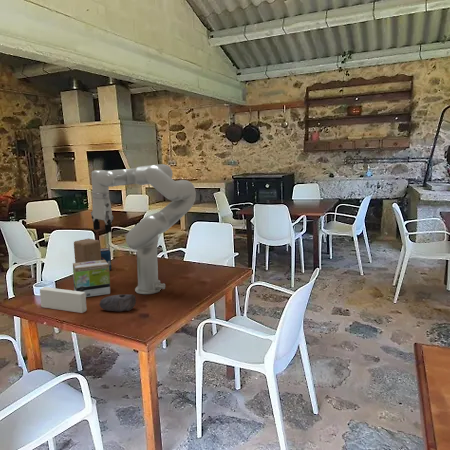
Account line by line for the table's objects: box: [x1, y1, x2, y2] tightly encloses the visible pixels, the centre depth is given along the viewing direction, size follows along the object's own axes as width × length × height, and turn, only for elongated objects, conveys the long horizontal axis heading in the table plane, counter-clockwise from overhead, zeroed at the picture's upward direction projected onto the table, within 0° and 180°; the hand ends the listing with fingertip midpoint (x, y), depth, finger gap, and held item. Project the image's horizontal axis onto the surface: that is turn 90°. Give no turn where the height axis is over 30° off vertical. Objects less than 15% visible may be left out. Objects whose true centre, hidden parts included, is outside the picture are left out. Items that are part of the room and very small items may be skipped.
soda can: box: [100, 247, 112, 271], centre depth 223 cm, size 7×7×12 cm
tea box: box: [72, 260, 111, 298], centre depth 186 cm, size 15×10×15 cm
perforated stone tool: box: [99, 293, 137, 312], centre depth 166 cm, size 15×5×7 cm, turn 87°
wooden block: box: [73, 238, 102, 263], centre depth 210 cm, size 10×10×20 cm
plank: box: [39, 286, 88, 314], centre depth 168 cm, size 21×3×8 cm, turn 71°
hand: (102, 230), depth 194 cm, fingers open, 9 cm apart
